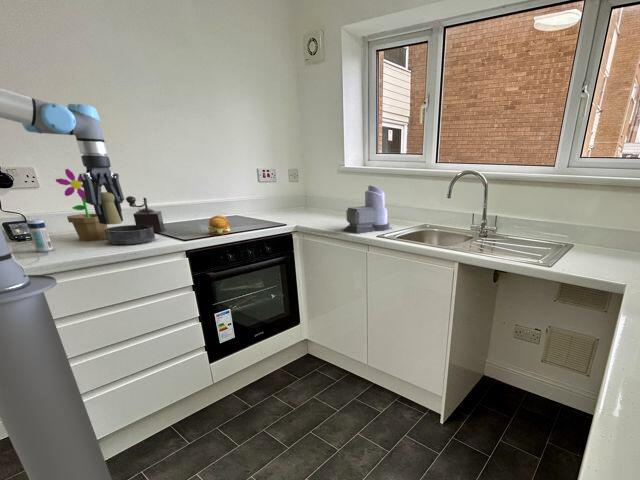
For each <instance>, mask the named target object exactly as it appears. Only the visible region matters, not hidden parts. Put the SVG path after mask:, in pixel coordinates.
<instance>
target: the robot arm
mask: <svg viewBox="0 0 640 480" xmlns="http://www.w3.org/2000/svg"><path fill="white" fill-rule="evenodd" d="M99 116H100V115H99V113H98V110H97V109H96V108H95V107H94V106H92V105H88V104H78V103H69V104H68V103H67V107H66V106H64V105H61V104H59V103H54V102H47V101H43V100H39V99H36V98H33V97H30V96H26V95H23V94H20V93H17V92H15V91H11V90H8V89H4V88H1V87H0V119H4V120H8V121H12V122H16V123H19V124H21V125H22V127H23V129H24V130H25V131H26V132H29V133H35V134H40V135H41V134H49V135H66V136H75V139H76V142H77V147H78V150H79V151H78V152H79V153H80V154H81V156H80V158H81V162H82V165H83V167H84V168H86V171H85V172H83V173H84V174H83V173H79V174H78V177H80V178H81V180H82V182H81V184H83V187H82V189H83V191H84V193H85V197H86V202H87V203H86V204H89V205H91V206H93V209H94V214H97V215H98V219H99V223H100V224H107V225H109V224H108V220H107V216H106V212H105V208H104V205H101V192H102V187H104V189H105V191H106V192H108V193H112V194H113V195H114V197H115V200H114V204H115V206H116V209H117V211H118V214H119V216H120V218H121V221H122V222H124V217H123V214H122V211H123V209H122V206H121V204H123V203H124V201H125V196H124V193H123V190H122V187H121V183H120V180H119V178H120V175H119V174H118V173H117V172H115V173H114V172H112V171H111V169H110V168H111V167H112V165H111V161H110V157H109V156H107V155H109V151H108V148H107V145H106V141H105V138H104V132H103V128H102V124H101V123H102V122H101V119H100V117H99ZM27 275H28V274H27V273H26V272H25V271H24V270H23V269H22V267H20V265H19V264H18V263H17V262H16V261H15V260H14V258H13V256H12V253H11V251H10V248H9V245H8V243H7V240H6V238H5V234H4V231H3V229H2V228H1V226H0V294H3V293H8V292H12V291H16V290H19V289H22V288H25V287H27V286H29V285H30V284H31V282H30V279H29V277H28V276H27Z"/></svg>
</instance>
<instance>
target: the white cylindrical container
mask: <svg viewBox="0 0 640 480" xmlns="http://www.w3.org/2000/svg"><path fill="white" fill-rule="evenodd" d="M26 226H27V228H28V231H29V234H30V237H31V240H32V243H33V245H34V249H35V251H36V252H39V253H45V252H46V253H47V252H51V251H52V250H54V247H53V245H52V241H51V239H50V235H49V233H48V230H47V226H46V224H45V221H44V220H42V219H41V218H33V219H26Z"/></svg>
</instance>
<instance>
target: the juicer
mask: <svg viewBox="0 0 640 480" xmlns="http://www.w3.org/2000/svg"><path fill="white" fill-rule="evenodd" d="M385 195H386V194H385V192H384V191H383V190H382V189H381V188H379V187H377V186H375V185H372V184H370V185H368V186H367V190H366V191H364V206H351V207H350V206H349V207H347V209H346V210H345V211H346V213H345V214H346V221H347V223H348V225H347V226H345V228H343V230H342V232H347V233H352V234H356V235H357V234H363V233H370V232H376V231H377V232H379V231H380V232H381V231H387V230H391V229H392V227H391V226H390V223H389V222H388V212H389V211H388V209H387V208H386V207H385V199H386V198H385Z"/></svg>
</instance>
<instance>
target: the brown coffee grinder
mask: <svg viewBox="0 0 640 480" xmlns="http://www.w3.org/2000/svg"><path fill="white" fill-rule="evenodd" d="M125 201H126V202H127V203H128V206H129V207H132V208H138V210H137V211H135V213H133V219H134V223H135V225H149V226H153V230H154V234H155V233H162V232H164V230H165V229H166V228H165V223H164V219H163V215H162V211H161V210H154V209H152V208H149V207H148V200H147V198H146V197H143V203H142V204H140V205H137V204H136V201H137V199H136V197H134V196H131V195H129V196H126V197H125ZM142 207H145V208H142Z"/></svg>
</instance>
